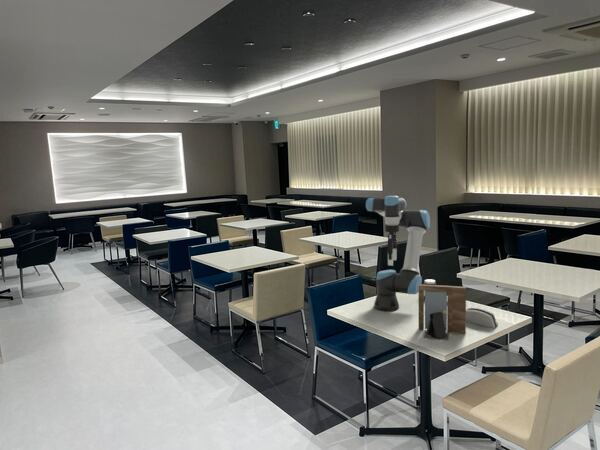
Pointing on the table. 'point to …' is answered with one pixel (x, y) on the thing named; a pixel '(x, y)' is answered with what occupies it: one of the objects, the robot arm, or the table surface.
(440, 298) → the door
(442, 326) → the phone stand
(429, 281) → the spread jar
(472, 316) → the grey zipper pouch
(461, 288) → the door frame
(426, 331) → the mat
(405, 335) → the table surface
